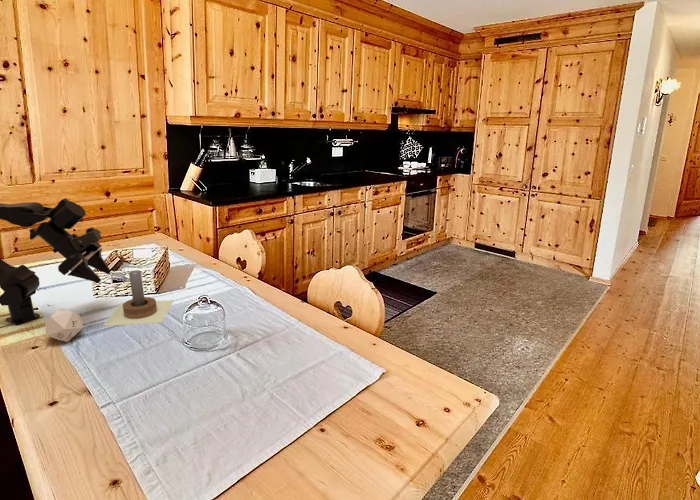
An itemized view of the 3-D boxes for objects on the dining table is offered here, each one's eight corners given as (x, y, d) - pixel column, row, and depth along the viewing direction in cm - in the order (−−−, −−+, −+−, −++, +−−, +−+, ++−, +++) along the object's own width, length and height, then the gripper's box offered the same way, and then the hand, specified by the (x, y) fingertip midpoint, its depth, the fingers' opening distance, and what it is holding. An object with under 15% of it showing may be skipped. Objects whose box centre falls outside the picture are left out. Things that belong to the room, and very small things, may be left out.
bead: (117, 314, 134) (116, 305, 133) (143, 303, 141) (142, 294, 140) (137, 321, 130) (135, 311, 129) (162, 309, 137) (161, 301, 136)
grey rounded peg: (132, 314, 134) (126, 273, 130) (138, 309, 137) (133, 270, 133) (142, 314, 134) (136, 274, 130) (148, 310, 137) (143, 270, 133)
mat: (102, 326, 127) (102, 325, 127) (121, 303, 142) (121, 302, 142) (161, 323, 129) (161, 322, 129) (174, 301, 144) (173, 300, 144)
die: (46, 351, 115) (65, 324, 113) (32, 328, 118) (50, 301, 116) (77, 347, 123) (94, 322, 121) (62, 326, 126) (79, 300, 124)
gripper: (68, 225, 116) (116, 266, 121) (92, 215, 134) (133, 251, 139) (36, 254, 116) (86, 294, 121) (65, 240, 134) (107, 275, 139)
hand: (105, 277), depth 130 cm, fingers open, 9 cm apart
